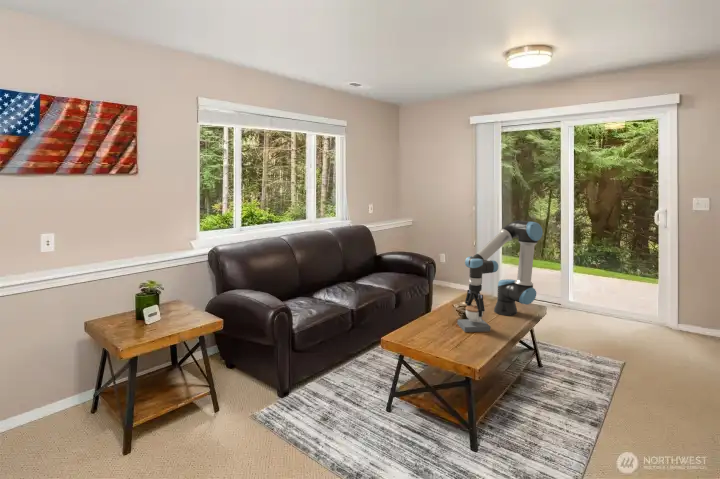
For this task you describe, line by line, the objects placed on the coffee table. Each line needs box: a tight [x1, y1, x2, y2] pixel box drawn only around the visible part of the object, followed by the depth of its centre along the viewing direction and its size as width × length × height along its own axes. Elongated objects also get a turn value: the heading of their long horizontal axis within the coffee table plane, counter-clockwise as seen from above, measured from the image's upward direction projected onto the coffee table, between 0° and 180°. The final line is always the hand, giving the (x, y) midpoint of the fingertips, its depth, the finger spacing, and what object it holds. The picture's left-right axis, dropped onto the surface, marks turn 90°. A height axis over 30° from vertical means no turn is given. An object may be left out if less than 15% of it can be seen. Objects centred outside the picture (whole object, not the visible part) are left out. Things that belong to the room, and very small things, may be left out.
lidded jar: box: [465, 304, 484, 322], centre depth 258 cm, size 11×11×9 cm
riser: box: [457, 318, 491, 333], centre depth 259 cm, size 16×14×3 cm
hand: (473, 318), depth 258 cm, fingers closed on lidded jar, 11 cm apart
